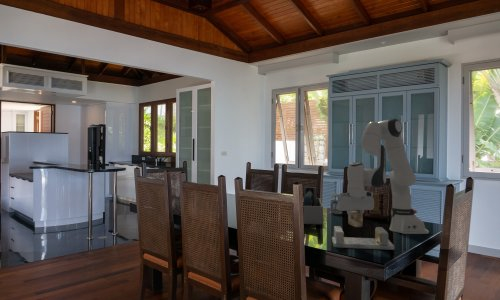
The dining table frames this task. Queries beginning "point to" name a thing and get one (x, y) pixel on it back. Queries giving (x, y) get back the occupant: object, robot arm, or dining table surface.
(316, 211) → the tool tote
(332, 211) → the french press
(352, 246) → the vise base
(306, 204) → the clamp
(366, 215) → the scroll
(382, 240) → the block
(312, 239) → the dining table surface
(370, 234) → the dining table surface
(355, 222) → the maple block
